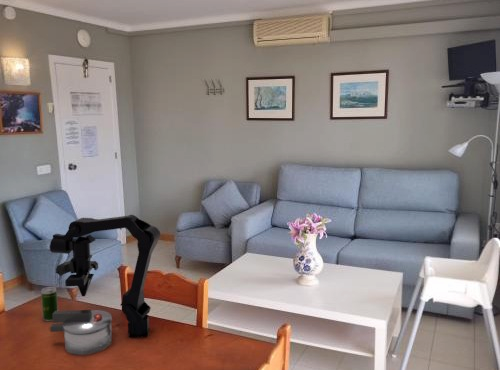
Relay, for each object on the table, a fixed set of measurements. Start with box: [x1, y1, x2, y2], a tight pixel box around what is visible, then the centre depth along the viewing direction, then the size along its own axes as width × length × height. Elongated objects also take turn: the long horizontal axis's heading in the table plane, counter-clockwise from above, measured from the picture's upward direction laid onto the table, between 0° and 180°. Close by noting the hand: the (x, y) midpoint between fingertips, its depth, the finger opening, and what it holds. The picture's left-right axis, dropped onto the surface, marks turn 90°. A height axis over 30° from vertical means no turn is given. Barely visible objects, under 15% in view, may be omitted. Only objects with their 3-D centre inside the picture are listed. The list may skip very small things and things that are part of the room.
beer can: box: [40, 286, 59, 322], centre depth 168 cm, size 5×5×12 cm
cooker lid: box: [52, 309, 113, 334], centre depth 149 cm, size 19×16×4 cm
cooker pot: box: [49, 323, 113, 356], centre depth 150 cm, size 20×15×7 cm
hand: (83, 295), depth 158 cm, fingers closed
